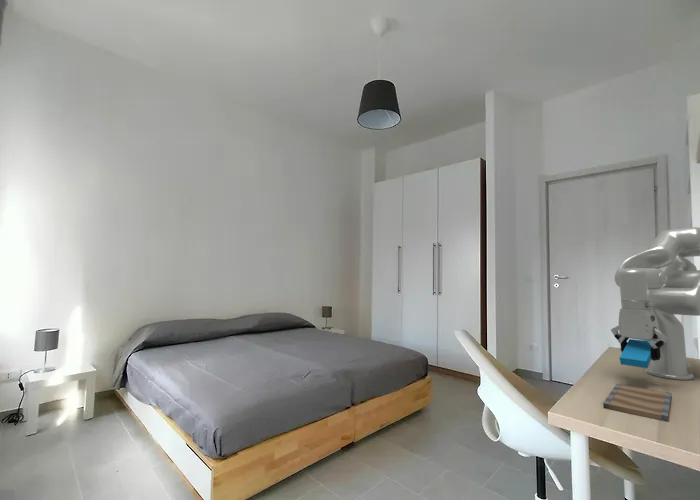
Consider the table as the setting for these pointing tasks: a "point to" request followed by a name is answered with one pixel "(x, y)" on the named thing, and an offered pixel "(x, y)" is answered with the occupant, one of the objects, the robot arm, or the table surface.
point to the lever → (636, 354)
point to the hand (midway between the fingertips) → (640, 356)
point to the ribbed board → (639, 402)
